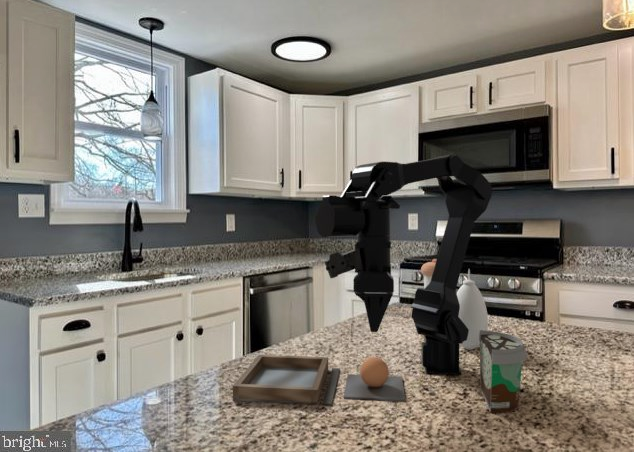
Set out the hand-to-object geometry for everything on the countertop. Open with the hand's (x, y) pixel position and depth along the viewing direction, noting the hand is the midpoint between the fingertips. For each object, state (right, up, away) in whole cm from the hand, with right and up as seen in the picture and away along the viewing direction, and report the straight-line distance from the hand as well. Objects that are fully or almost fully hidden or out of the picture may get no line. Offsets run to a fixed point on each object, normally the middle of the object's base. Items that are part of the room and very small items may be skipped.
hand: (374, 324), depth 76 cm
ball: (0, -8, 0) cm, 8 cm away
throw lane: (-9, -11, +1) cm, 14 cm away
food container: (+20, -11, -6) cm, 24 cm away
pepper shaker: (+20, -10, +33) cm, 40 cm away
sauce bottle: (+24, -11, +22) cm, 34 cm away
